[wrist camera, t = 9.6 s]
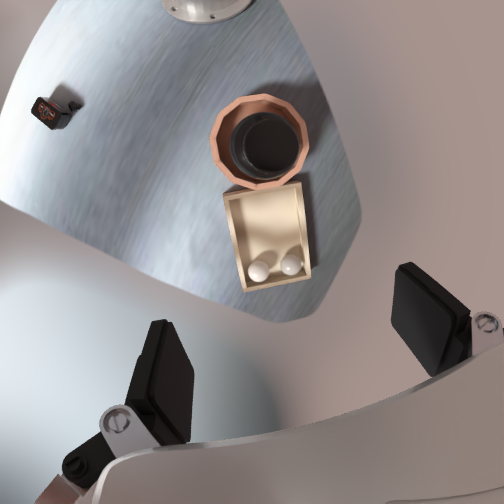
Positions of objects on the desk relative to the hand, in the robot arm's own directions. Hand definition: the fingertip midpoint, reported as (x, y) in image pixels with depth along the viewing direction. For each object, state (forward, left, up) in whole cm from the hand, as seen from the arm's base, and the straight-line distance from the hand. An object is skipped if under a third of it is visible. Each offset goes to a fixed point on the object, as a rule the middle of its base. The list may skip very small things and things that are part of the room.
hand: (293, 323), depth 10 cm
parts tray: (+7, +2, -28) cm, 28 cm away
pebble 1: (+11, 0, -27) cm, 30 cm away
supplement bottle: (-6, +2, -27) cm, 28 cm away
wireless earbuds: (-19, -23, -28) cm, 41 cm away
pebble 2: (+11, +5, -27) cm, 30 cm away
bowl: (-6, +3, -28) cm, 28 cm away
